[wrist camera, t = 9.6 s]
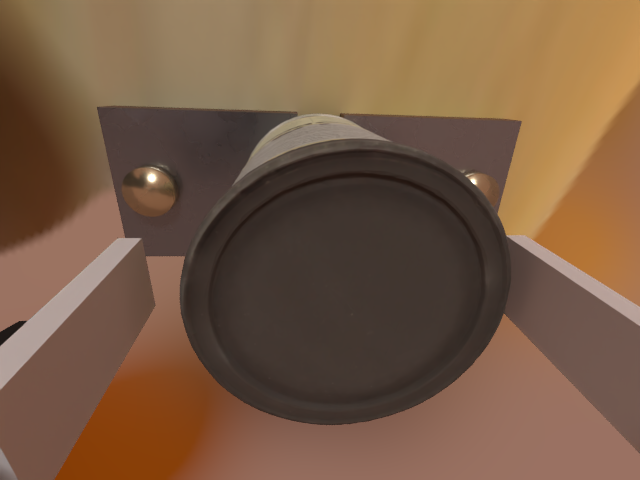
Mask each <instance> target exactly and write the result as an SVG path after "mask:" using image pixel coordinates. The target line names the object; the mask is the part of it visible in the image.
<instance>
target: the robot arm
mask: <svg viewBox="0 0 640 480" xmlns="http://www.w3.org/2000/svg"><path fill="white" fill-rule="evenodd" d="M506 237H507V241H508V244H509V251H510V256H511V284H510V290H509V295H508V299H507V304H506V308H505V311H504V314H505V315H506V316H507V317H508V318H509V319H510V320H511V321H512V322H513V323H514V324H515V325H516V326H517V327H518V328H519V329H520V330H521V331H522V332H523V333H524V334H525V335H526V336H527V337H528V338H529V339H530V340H531V342H532V343H533V344H534V345H535V346H536V347H537V348H538V349H539V350H540V351H541V352H542V353H543V354H544V355H545V356H546V357H547V358H548V359H549V360H550V361H551V362H552V363H553V364H554V365H555V366H556V367H557V368H558V369H559V371H560V372H561V373H562V374H563V375H564V376H565V377H566V378H567V379H568V380H569V381H570V382H571V383H572V384H573V385H574V386H575V387H576V388H577V389H578V390H579V391H580V392H581V393H582V394H583V395H584V396H585V397H586V398H587V399H588V401H589V402H590V403H591V404H592V405H593V406H594V407H595V408H596V409H597V410H598V411H599V412H600V413H601V414H602V415H603V416H604V417H605V418H606V419H607V420H608V421H609V422H610V423H611V424H612V425H613V426H614V427H615V428H616V429H617V430H618V431H619V432H620V433H621V435H622V436H623V437H624V438H625V439H626V440H627V441H628V442H629V443H630V444H631V445H632V446H633V447H634V448H635V449H636V450H637V451H638V452H639V453H640V307H639V306H637V305H636V304H634V303H632V302H631V301H629V300H628V299H626V298H624V297H623V296H621V295H620V294H618V293H616V292H615V291H613V290H612V289H610V288H608V287H607V286H605V285H603V284H602V283H600V282H599V281H597V280H595V279H594V278H592V277H591V276H589V275H587V274H586V273H584V272H583V271H581V270H579V269H578V268H576V267H575V266H573V265H571V264H570V263H568V262H566V261H565V260H563V259H562V258H560V257H559V256H557V255H555V254H554V253H552V252H551V251H549V250H547V249H546V248H544V247H542V246H541V245H539V244H538V243H536V242H534V241H533V240H531V239H530V238H528V237H526V236H525V235H515V236H506ZM154 307H155V301H154V296H153V291H152V286H151V281H150V276H149V271H148V266H147V261H146V256H145V251H144V247H143V242H142V238H117V239H116V240H115V241H114V242H113V243H112V244H111V245H110V246H109V247H108V248H107V249H106V250H104V251H103V252H102V253H101V254H100V255H99V256H98V257H97V258H96V259H95V260H94V261H92V262H91V263H90V264H89V265H88V266H87V267H86V268H85V269H84V270H83V271H82V272H80V273H79V274H78V275H77V276H76V277H75V278H74V279H73V280H72V281H71V282H70V283H69V284H67V285H66V286H65V287H64V288H63V289H62V290H61V291H60V292H59V293H58V294H57V295H56V296H54V297H53V298H52V299H51V300H50V301H49V302H48V303H47V304H46V305H45V306H44V307H42V308H41V309H40V310H39V311H38V312H37V313H36V314H35V315H34V316H33V317H32V318H30V319H29V320H28V321H19V322H17V323H15V324H14V325H12V326H10V327H8V328H6V329H5V330H3V331H1V332H0V480H54V479H55V477H56V475H57V474H58V472H59V470H60V469H61V467H62V465H63V463H64V461H65V460H66V458H67V456H68V455H69V453H70V451H71V450H72V448H73V446H74V445H75V443H76V441H77V439H78V438H79V436H80V434H81V432H82V431H83V429H84V427H85V425H86V424H87V422H88V421H89V419H90V417H91V415H92V414H93V412H94V410H95V409H96V407H97V405H98V403H99V402H100V400H101V398H102V396H103V395H104V393H105V391H106V389H107V388H108V386H109V384H110V383H111V381H112V379H113V378H114V376H115V374H116V372H117V371H118V369H119V367H120V365H121V364H122V362H123V361H124V359H125V357H126V355H127V353H128V352H129V350H130V348H131V347H132V345H133V343H134V342H135V340H136V338H137V336H138V335H139V333H140V331H141V329H142V328H143V326H144V324H145V323H146V321H147V319H148V318H149V316H150V314H151V312H152V311H153V309H154Z"/></svg>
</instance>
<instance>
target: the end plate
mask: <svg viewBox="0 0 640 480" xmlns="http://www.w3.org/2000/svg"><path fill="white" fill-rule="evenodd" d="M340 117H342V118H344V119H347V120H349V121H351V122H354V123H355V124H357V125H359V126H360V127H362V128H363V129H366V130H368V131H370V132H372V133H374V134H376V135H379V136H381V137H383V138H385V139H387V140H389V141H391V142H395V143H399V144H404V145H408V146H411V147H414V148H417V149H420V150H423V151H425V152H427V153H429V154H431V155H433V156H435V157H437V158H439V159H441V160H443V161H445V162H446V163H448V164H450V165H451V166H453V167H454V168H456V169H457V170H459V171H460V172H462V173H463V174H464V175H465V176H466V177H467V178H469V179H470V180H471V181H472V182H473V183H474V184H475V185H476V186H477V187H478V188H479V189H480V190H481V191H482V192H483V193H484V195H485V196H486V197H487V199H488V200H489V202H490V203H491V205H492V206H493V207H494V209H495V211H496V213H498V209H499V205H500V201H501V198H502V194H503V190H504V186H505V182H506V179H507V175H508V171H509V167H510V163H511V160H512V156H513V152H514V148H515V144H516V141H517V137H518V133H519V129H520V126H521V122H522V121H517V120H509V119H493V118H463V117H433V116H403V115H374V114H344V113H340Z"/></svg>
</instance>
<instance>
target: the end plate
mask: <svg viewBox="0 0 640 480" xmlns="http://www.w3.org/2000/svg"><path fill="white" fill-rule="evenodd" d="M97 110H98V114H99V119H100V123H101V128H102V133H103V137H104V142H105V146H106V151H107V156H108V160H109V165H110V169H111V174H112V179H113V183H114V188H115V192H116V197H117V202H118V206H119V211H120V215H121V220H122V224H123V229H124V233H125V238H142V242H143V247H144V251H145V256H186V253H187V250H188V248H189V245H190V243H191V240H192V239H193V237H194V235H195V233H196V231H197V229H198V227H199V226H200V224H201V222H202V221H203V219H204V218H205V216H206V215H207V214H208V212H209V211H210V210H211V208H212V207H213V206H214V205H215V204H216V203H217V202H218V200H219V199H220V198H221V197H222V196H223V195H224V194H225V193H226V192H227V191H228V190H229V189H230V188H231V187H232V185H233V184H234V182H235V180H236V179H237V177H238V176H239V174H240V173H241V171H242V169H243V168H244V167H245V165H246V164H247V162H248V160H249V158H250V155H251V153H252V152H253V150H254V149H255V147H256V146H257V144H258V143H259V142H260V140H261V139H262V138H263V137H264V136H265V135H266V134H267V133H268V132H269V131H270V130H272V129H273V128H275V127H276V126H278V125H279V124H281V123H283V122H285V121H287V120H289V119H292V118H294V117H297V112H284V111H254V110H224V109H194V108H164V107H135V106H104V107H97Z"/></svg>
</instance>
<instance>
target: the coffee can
mask: <svg viewBox="0 0 640 480" xmlns="http://www.w3.org/2000/svg"><path fill="white" fill-rule="evenodd" d="M510 284H511V256H510V251H509V244H508V241H507V237H506V234H505V231H504V228H503V225H502V223H501V220H500V218H499V217H498V215H497V213H496V211H495V209H494V207H493V206H492V205H491V203H490V202H489V200H488V199H487V197H486V196H485V195H484V193H483V192H482V191H481V190H480V189H479V188H478V187H477V186H476V185H475V184H474V183H473V182H472V181H471V180H470V179H469V178H467V177H466V176H465V175H464V174H463V173H462V172H460V171H459V170H457V169H456V168H454V167H453V166H451V165H450V164H448V163H446V162H445V161H443V160H441V159H439V158H437V157H435V156H433V155H431V154H429V153H427V152H425V151H423V150H420V149H417V148H414V147H411V146H408V145H404V144H399V143H395V142H391V141H389V140H387V139H385V138H383V137H381V136H379V135H376V134H374V133H372V132H370V131H368V130H366V129H363V128H362V127H360V126H359V125H357V124H355V123H354V122H351V121H349V120H347V119H344V118H342V117H338V116H334V115H329V114H307V115H301V116H297V117H294V118H292V119H289V120H287V121H285V122H283V123H281V124H279V125H278V126H276V127H275V128H273V129H272V130H270V131H269V132H268V133H267V134H266V135H265V136H264V137H263V138H262V139H261V140H260V142H259V143H258V144H257V146H256V147H255V149H254V150H253V152H252V153H251V155H250V158H249V160H248V162H247V164H246V165H245V167H244V168H243V169H242V171H241V173H240V174H239V176H238V177H237V179H236V180H235V182H234V184H233V185H232V187H231V188H230V189H229V190H228V191H227V192H226V193H225V194H224V195H223V196H222V197H221V198H220V199H219V200H218V202H217V203H216V204H215V205H214V206H213V207H212V208H211V210H210V211H209V212H208V214H207V215H206V216H205V218H204V219H203V221H202V222H201V224H200V226H199V227H198V229H197V231H196V233H195V235H194V237H193V239H192V240H191V243H190V245H189V248H188V250H187V253H186V256H185V260H184V265H183V270H182V275H181V282H180V305H181V315H182V319H183V323H184V326H185V330H186V333H187V336H188V338H189V341H190V343H191V346H192V348H193V349H194V351H195V353H196V354H197V356H198V358H199V360H200V361H201V362H202V364H203V365H204V366H205V368H206V369H207V370H208V372H209V373H210V374H211V375H212V376H213V378H215V380H216V381H217V382H218V383H219V384H220V385H221V386H222V387H224V388H225V389H226V390H227V391H229V392H230V393H231V394H233V395H234V396H236V397H237V398H238V399H240V400H241V401H243V402H244V403H246V404H249V405H250V406H252V407H254V408H256V409H258V410H260V411H263V412H266V413H269V414H271V415H274V416H277V417H281V418H284V419H288V420H292V421H297V422H303V423H310V424H320V425H342V424H352V423H357V422H365V421H371V420H374V419H378V418H382V417H386V416H389V415H393V414H395V413H398V412H401V411H404V410H406V409H409V408H412V407H414V406H416V405H418V404H420V403H422V402H424V401H426V400H427V399H429V398H431V397H433V396H434V395H436V394H437V393H439V392H440V391H442V390H443V389H445V388H446V387H448V386H449V385H450V384H451V383H453V382H454V381H455V380H456V379H457V378H459V377H460V376H461V375H462V374H463V373H464V372H465V371H466V370H467V369H468V368H469V367H470V366H471V365H472V364H473V363H474V362H475V360H476V359H477V358H478V357H479V356H480V355H481V353H482V352H483V351H484V349H485V348H486V347H487V345H488V344H489V342H490V340H491V339H492V337H493V335H494V333H495V332H496V330H497V328H498V326H499V324H500V321H501V319H502V316H503V314H504V311H505V308H506V304H507V299H508V295H509V290H510Z"/></svg>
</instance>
